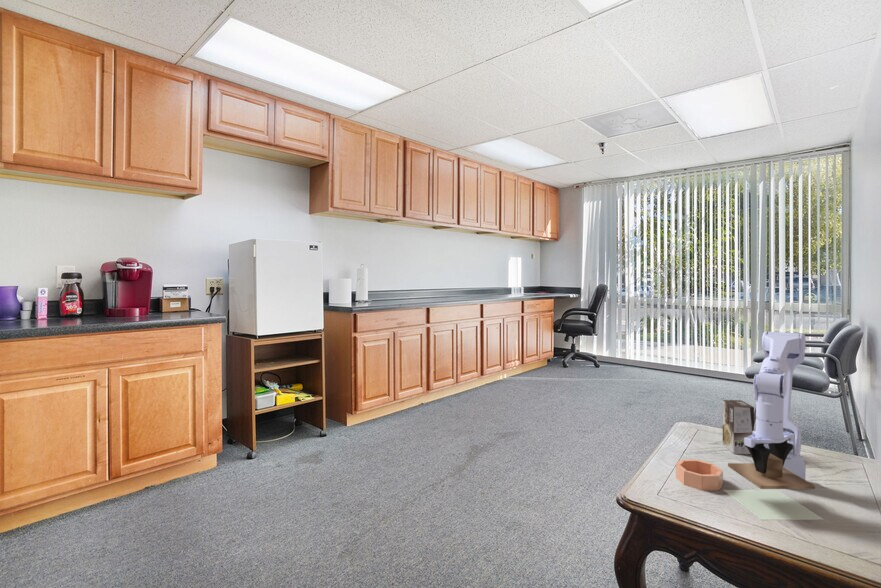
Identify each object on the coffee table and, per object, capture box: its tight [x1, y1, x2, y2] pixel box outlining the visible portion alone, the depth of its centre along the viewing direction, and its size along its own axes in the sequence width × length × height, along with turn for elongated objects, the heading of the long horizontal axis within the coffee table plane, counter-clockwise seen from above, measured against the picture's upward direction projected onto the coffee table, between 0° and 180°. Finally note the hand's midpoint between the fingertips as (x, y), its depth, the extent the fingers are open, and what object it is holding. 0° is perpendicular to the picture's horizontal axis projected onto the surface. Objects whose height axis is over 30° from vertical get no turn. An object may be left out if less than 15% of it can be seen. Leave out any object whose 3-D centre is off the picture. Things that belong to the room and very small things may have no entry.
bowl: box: [675, 459, 724, 491], centre depth 128 cm, size 11×11×4 cm
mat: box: [722, 489, 824, 521], centre depth 114 cm, size 15×15×1 cm
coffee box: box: [722, 399, 755, 455], centre depth 151 cm, size 9×6×16 cm
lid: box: [727, 454, 816, 490], centre depth 114 cm, size 13×13×5 cm
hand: (768, 470), depth 114 cm, fingers closed on lid, 5 cm apart
